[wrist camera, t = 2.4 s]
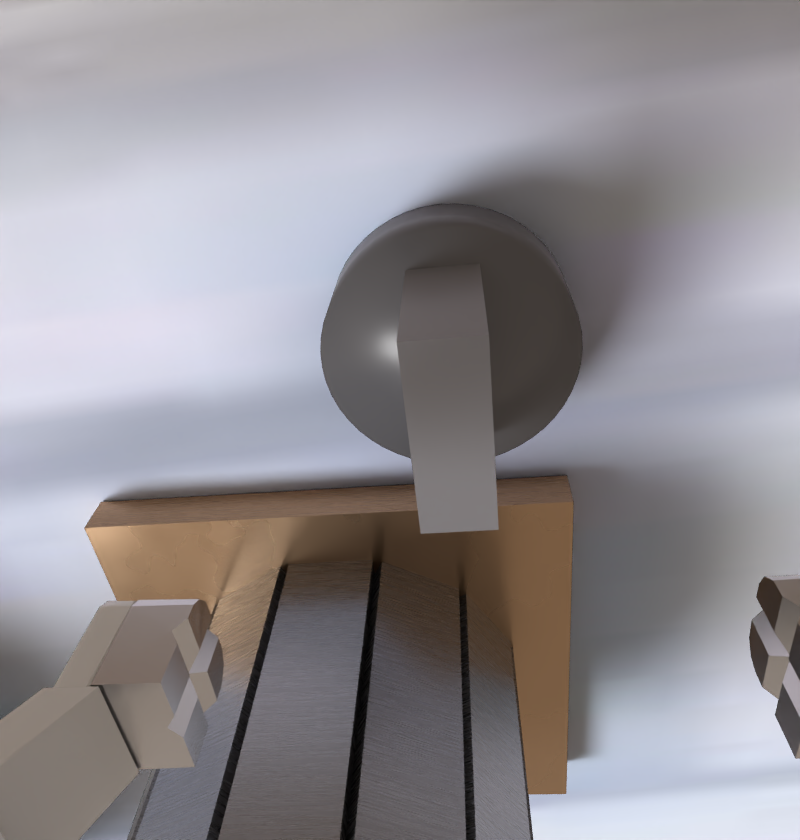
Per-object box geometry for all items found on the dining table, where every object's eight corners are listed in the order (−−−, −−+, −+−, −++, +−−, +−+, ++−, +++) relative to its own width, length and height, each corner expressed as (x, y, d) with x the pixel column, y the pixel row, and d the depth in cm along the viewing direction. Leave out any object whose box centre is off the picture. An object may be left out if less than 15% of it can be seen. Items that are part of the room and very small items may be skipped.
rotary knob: (312, 215, 17) (263, 310, 12) (570, 190, 16) (622, 279, 12) (350, 428, 20) (323, 566, 15) (567, 413, 19) (607, 553, 15)
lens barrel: (101, 502, 22) (-89, 798, 14) (566, 475, 20) (644, 788, 13) (214, 769, 29) (131, 1060, 21) (561, 763, 28) (608, 1072, 20)
